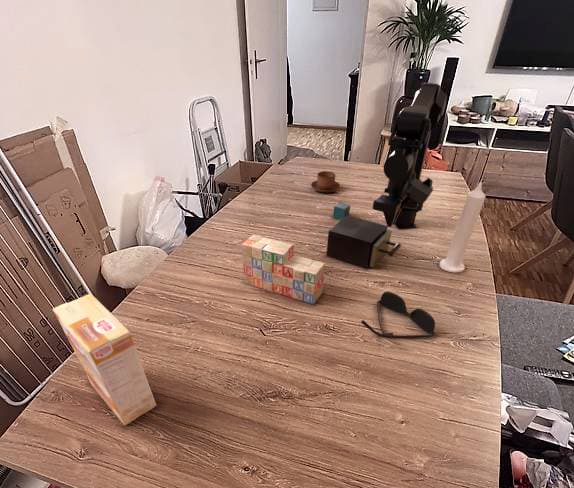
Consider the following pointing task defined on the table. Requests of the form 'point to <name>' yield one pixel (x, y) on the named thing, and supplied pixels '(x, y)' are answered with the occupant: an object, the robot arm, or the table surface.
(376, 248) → the drawer
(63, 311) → the coffeecake box
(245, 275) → the stack of blocks
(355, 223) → the cabinet
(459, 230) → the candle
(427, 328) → the sunglasses
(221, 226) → the table surface
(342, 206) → the block
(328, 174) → the cup and saucer
